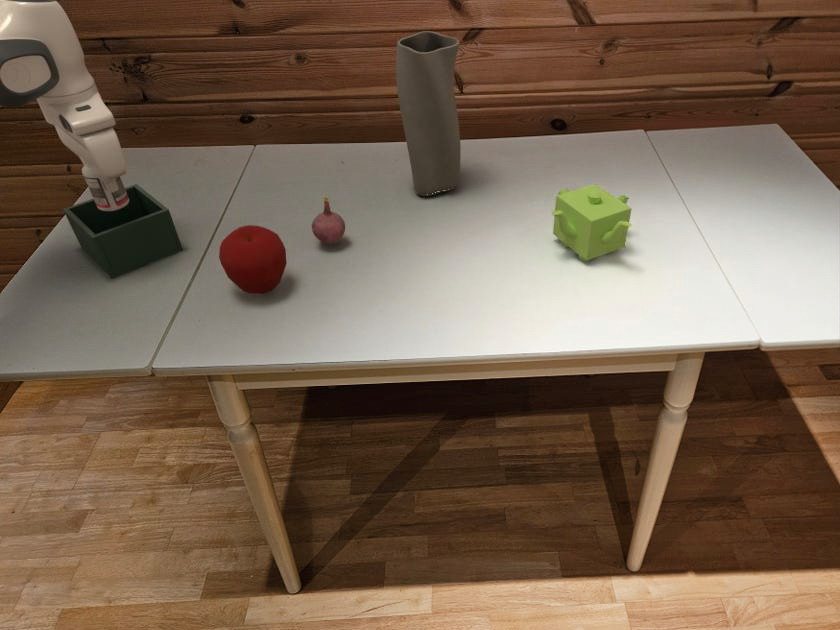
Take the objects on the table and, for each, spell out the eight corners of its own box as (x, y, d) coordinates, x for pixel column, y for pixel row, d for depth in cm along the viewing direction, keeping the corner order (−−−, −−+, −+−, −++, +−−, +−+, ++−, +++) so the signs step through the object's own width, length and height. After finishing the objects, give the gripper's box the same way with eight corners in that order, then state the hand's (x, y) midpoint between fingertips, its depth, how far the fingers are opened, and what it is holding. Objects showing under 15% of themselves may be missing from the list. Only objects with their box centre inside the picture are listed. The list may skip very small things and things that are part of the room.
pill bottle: (125, 194, 120) (105, 143, 114) (133, 206, 117) (112, 154, 111) (94, 202, 118) (72, 151, 112) (101, 215, 115) (78, 162, 108)
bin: (111, 279, 117) (92, 237, 111) (82, 249, 124) (62, 208, 118) (183, 249, 124) (168, 209, 118) (151, 223, 131) (136, 183, 125)
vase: (423, 207, 136) (414, 56, 116) (395, 184, 144) (382, 38, 123) (472, 192, 141) (472, 44, 121) (443, 170, 149) (438, 27, 128)
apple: (226, 278, 117) (208, 221, 109) (285, 264, 121) (272, 208, 113) (236, 313, 110) (217, 254, 102) (299, 297, 113) (286, 239, 105)
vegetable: (351, 249, 125) (344, 202, 118) (319, 256, 123) (310, 208, 116) (343, 233, 129) (336, 187, 122) (312, 240, 127) (303, 193, 120)
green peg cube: (622, 273, 119) (632, 219, 111) (545, 264, 121) (549, 210, 114) (627, 230, 130) (636, 178, 122) (556, 222, 132) (560, 171, 124)
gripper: (28, 92, 109) (63, 170, 119) (75, 129, 99) (110, 211, 108) (68, 83, 113) (99, 159, 122) (117, 117, 102) (147, 197, 111)
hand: (104, 183), depth 115 cm, fingers closed on pill bottle, 5 cm apart
